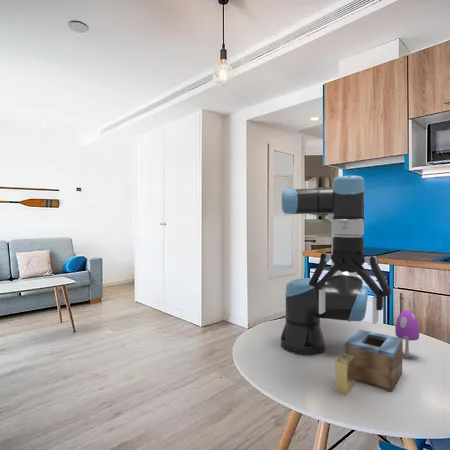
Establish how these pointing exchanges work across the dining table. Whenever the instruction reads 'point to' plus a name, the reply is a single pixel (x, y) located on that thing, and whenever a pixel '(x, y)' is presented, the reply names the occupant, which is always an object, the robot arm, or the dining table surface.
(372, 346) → the coin box
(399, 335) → the toy
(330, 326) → the dining table surface
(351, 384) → the tan rectangular box
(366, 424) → the dining table surface
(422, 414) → the dining table surface
